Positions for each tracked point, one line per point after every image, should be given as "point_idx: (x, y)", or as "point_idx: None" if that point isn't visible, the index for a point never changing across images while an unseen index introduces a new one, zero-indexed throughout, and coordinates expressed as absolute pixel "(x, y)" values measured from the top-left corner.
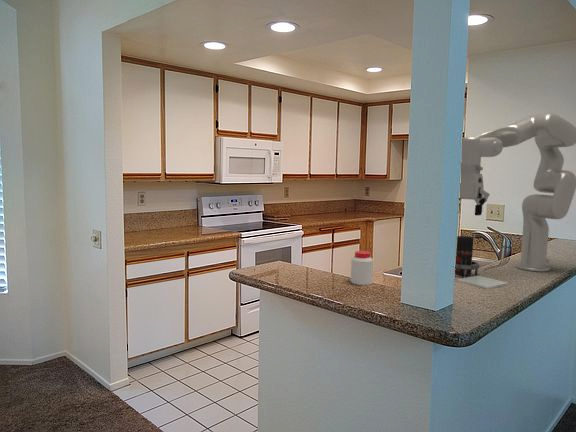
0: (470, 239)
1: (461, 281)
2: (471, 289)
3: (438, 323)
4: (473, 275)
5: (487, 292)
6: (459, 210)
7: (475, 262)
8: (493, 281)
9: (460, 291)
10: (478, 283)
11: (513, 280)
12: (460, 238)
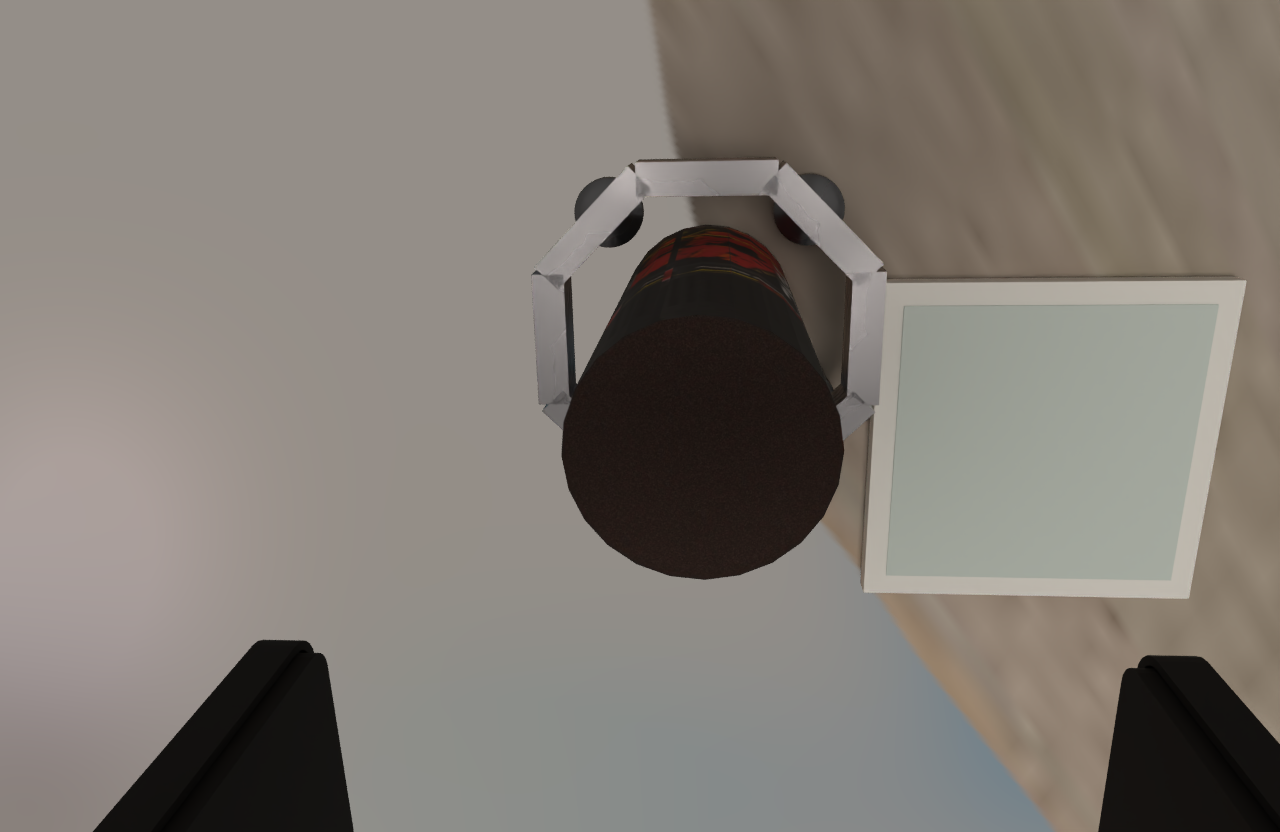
0: (836, 479)
1: (902, 587)
2: (1092, 701)
3: None
4: (796, 242)
5: (1230, 670)
6: (292, 687)
7: (789, 208)
8: (1128, 375)
9: (1070, 816)
10: (1075, 571)
11: (1184, 4)
12: (703, 573)
